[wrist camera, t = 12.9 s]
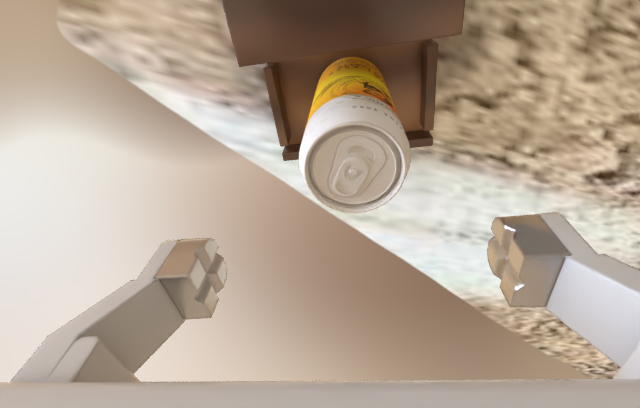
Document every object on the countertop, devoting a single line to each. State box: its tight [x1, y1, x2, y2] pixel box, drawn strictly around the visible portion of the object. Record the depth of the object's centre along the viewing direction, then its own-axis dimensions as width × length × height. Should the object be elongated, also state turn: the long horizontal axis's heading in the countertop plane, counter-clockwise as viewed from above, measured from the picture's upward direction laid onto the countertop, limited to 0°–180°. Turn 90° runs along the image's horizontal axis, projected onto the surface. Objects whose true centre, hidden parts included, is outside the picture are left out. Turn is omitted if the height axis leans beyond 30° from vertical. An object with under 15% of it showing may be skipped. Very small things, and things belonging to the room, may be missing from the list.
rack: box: [221, 0, 465, 161], centre depth 25 cm, size 15×14×9 cm
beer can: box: [299, 57, 411, 213], centre depth 23 cm, size 6×6×15 cm
